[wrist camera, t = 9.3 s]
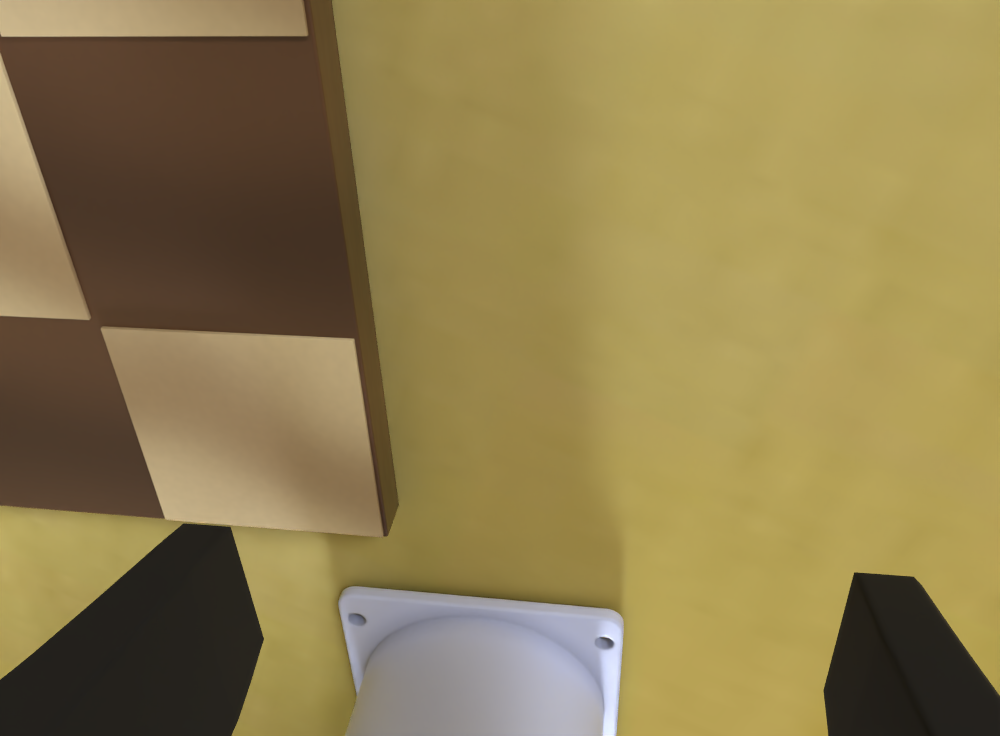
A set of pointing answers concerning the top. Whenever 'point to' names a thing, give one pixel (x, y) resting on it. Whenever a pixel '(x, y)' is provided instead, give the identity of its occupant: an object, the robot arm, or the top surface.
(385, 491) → the game board
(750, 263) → the top surface
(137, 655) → the robot arm
